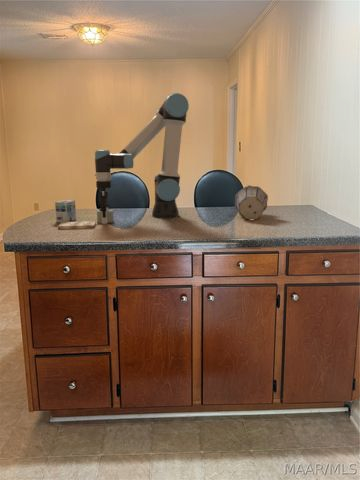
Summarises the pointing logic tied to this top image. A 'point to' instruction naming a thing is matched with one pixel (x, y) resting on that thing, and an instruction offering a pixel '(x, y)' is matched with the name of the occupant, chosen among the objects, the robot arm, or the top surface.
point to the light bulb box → (65, 211)
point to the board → (77, 225)
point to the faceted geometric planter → (251, 202)
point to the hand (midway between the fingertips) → (105, 221)
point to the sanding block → (109, 216)
